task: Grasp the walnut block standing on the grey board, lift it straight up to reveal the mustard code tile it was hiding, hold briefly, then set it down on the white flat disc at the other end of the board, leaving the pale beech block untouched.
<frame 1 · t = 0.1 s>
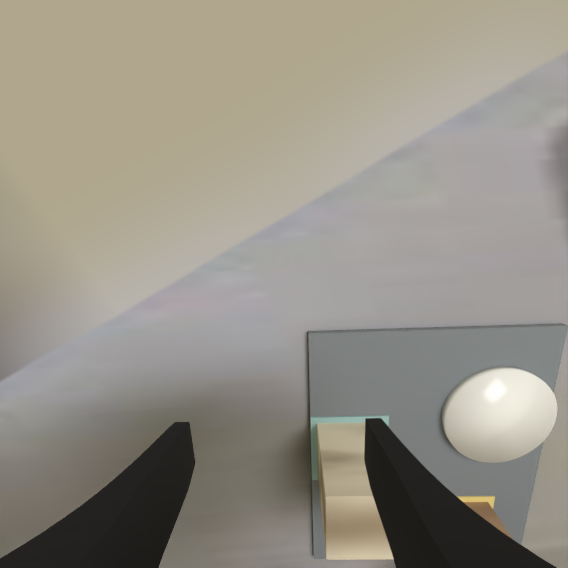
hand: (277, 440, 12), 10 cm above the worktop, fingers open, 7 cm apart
grey board: (422, 453, 24), on the worktop
beech block: (349, 449, 24), resting on grey board
white flat disc: (495, 413, 22), resting on grey board
walnut block: (454, 525, 25), resting on grey board
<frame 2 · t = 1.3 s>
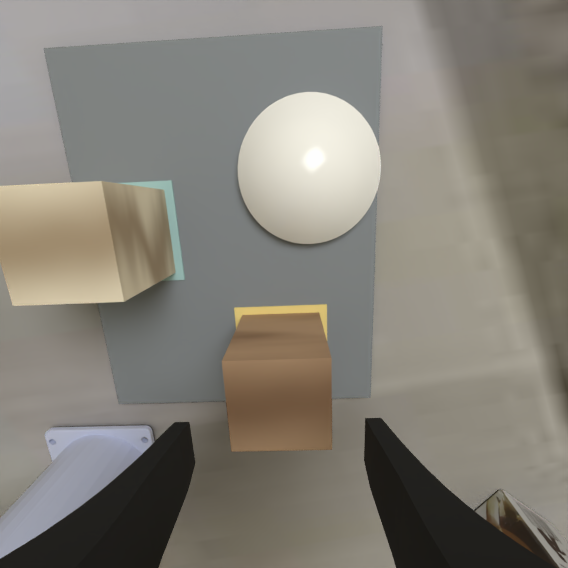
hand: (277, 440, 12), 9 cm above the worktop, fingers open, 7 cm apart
grey board: (230, 245, 19), on the worktop
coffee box: (485, 536, 25), on the worktop
beech block: (130, 234, 18), resting on grey board
white flat disc: (308, 173, 17), resting on grey board
walnut block: (282, 348, 20), resting on grey board
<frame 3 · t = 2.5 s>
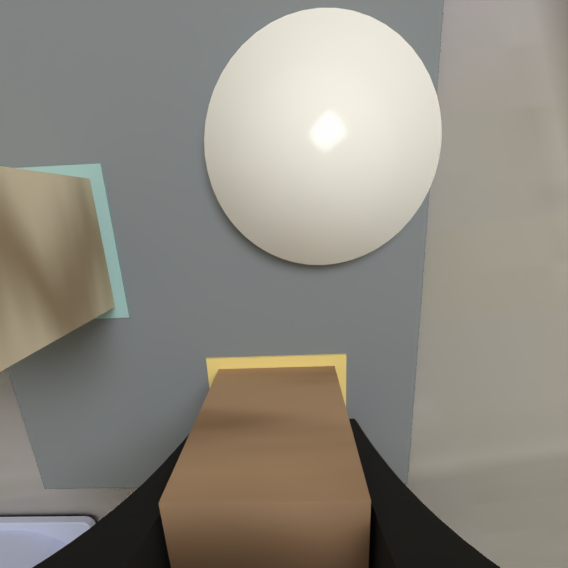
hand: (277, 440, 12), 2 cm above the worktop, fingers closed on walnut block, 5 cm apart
grey board: (198, 265, 12), on the worktop
beech block: (41, 248, 12), resting on grey board
white flat disc: (319, 152, 11), resting on grey board
walnut block: (279, 417, 13), resting on grey board, touching gripper
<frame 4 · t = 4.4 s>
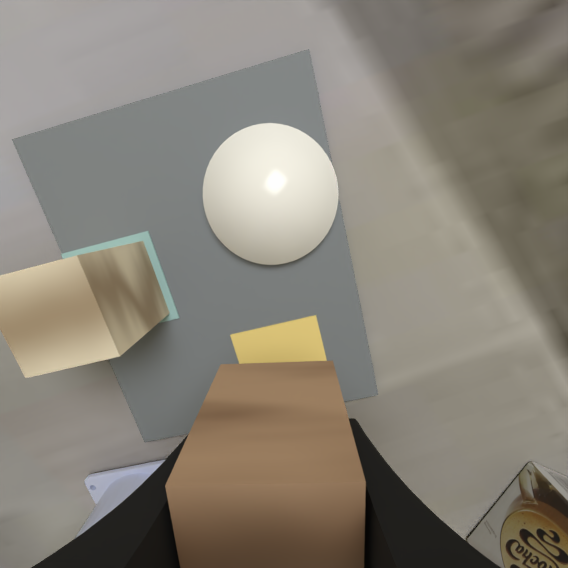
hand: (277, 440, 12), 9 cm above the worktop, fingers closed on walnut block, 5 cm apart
grey board: (214, 278, 20), on the worktop
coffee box: (526, 510, 24), on the worktop
beech block: (121, 286, 20), resting on grey board
white flat disc: (270, 198, 18), resting on grey board
walnut block: (279, 410, 14), point 7 cm above the worktop, touching gripper
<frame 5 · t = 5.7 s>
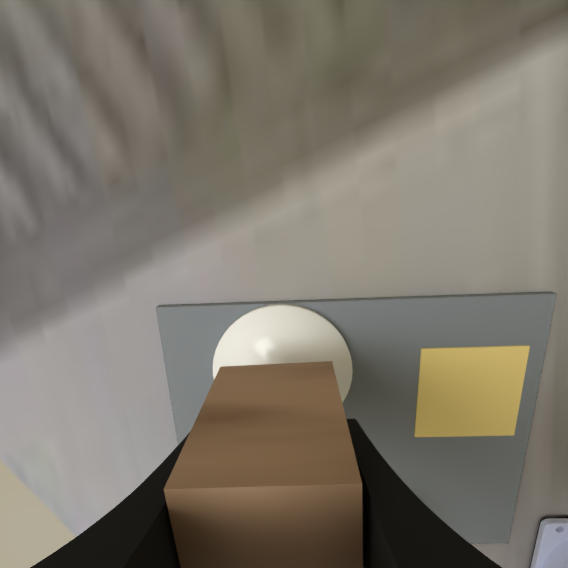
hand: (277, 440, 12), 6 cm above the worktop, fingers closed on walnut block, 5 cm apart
grey board: (348, 432, 19), on the worktop
white flat disc: (282, 367, 18), resting on grey board
walnut block: (279, 412, 14), point 4 cm above the worktop, touching gripper
when the fingers open (4 cm above the worktop, at t = 6.6 s): walnut block drops 1 cm, resting on white flat disc.
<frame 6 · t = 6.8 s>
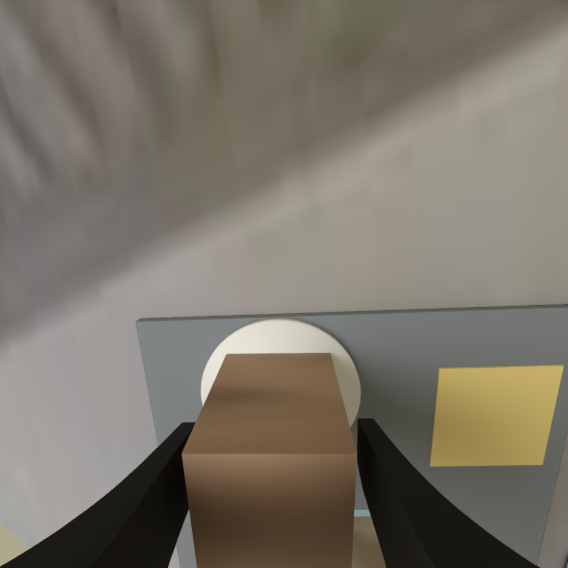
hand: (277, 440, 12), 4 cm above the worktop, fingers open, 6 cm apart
grey board: (355, 460, 17), on the worktop
beech block: (338, 548, 18), resting on grey board
white flat disc: (280, 389, 15), resting on grey board
walnut block: (279, 398, 15), point 1 cm above the worktop, touching white flat disc
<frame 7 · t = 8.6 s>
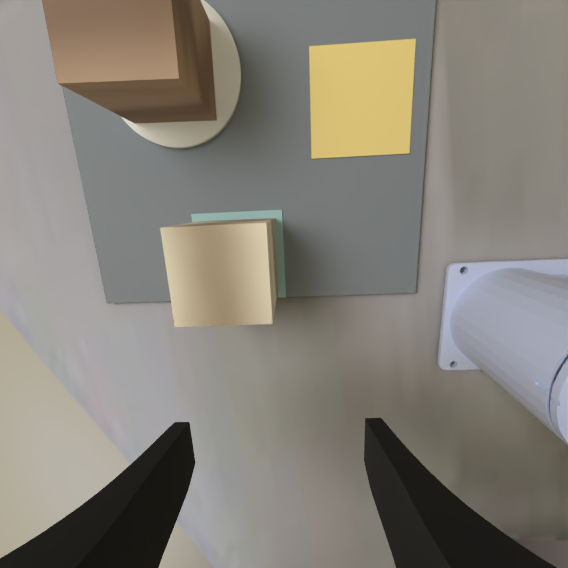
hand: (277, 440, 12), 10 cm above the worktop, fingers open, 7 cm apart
grey board: (249, 163, 19), on the worktop
beech block: (240, 257, 20), resting on grey board
white flat disc: (175, 76, 18), resting on grey board
walnut block: (170, 74, 17), point 1 cm above the worktop, touching white flat disc
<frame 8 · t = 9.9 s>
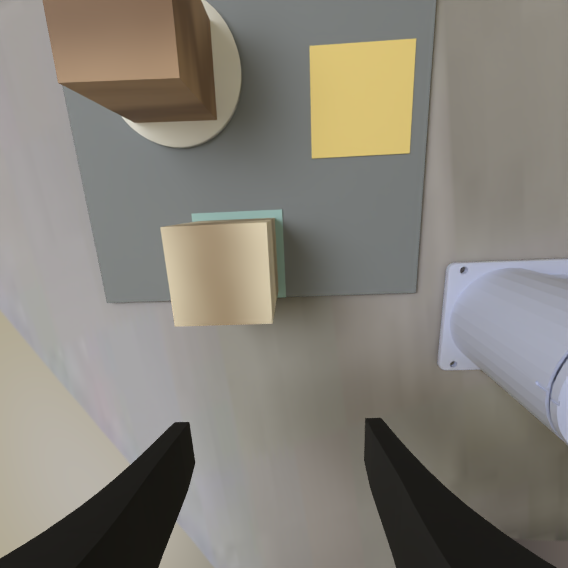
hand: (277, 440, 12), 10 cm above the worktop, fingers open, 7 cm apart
grey board: (249, 162, 19), on the worktop
beech block: (240, 256, 20), resting on grey board
white flat disc: (175, 75, 18), resting on grey board
walnut block: (170, 73, 17), point 1 cm above the worktop, touching white flat disc
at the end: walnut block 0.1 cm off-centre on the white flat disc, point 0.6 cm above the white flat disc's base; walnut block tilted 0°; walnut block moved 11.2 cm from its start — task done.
